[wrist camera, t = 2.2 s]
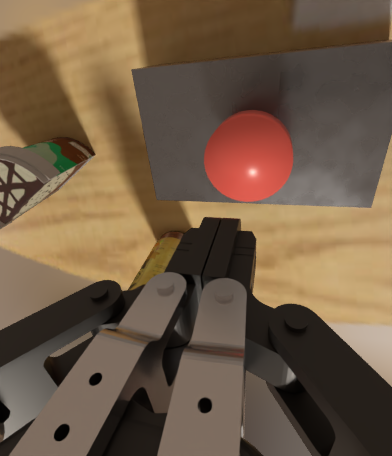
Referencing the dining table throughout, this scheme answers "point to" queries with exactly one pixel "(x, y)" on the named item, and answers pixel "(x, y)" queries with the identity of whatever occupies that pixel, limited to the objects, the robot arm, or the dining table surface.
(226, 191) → the red button
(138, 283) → the sauce bottle
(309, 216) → the dining table surface
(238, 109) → the console
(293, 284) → the dining table surface
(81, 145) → the food container
